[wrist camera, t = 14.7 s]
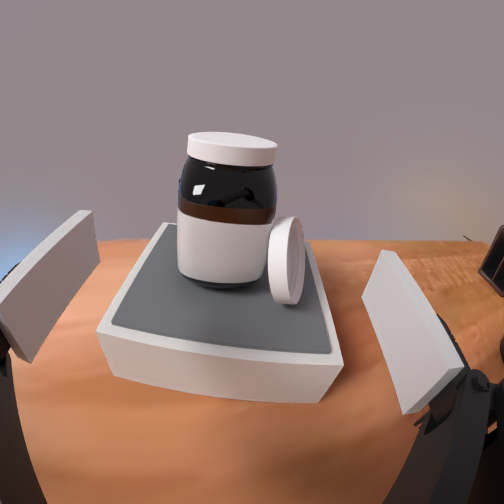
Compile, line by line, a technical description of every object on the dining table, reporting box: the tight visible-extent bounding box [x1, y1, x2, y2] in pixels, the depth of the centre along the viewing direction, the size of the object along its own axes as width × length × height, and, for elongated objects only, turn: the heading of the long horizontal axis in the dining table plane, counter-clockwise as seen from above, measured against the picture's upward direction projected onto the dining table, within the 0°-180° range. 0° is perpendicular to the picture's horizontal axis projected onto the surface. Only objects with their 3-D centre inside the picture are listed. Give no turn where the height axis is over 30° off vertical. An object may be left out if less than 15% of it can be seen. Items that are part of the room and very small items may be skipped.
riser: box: [96, 222, 344, 403], centre depth 26 cm, size 18×18×6 cm
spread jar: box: [177, 132, 305, 304], centre depth 22 cm, size 12×11×12 cm
